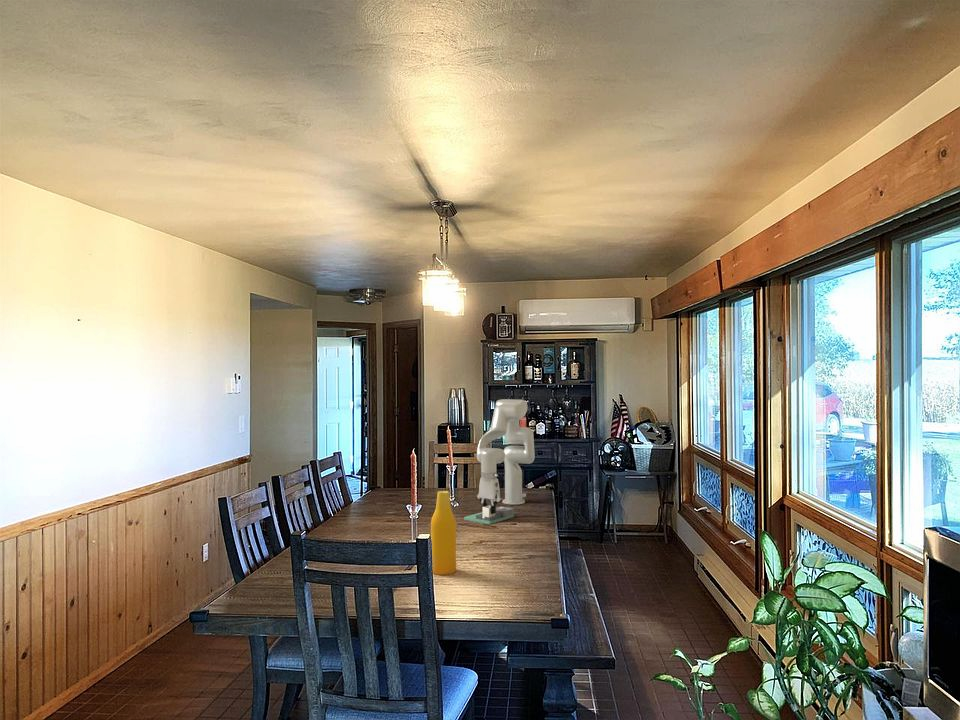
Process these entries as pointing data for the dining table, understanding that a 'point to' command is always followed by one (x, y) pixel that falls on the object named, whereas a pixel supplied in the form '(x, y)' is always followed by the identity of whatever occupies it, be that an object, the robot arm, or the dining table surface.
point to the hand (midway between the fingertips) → (488, 512)
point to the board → (473, 518)
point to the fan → (505, 511)
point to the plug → (487, 511)
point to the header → (489, 517)
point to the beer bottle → (443, 536)
